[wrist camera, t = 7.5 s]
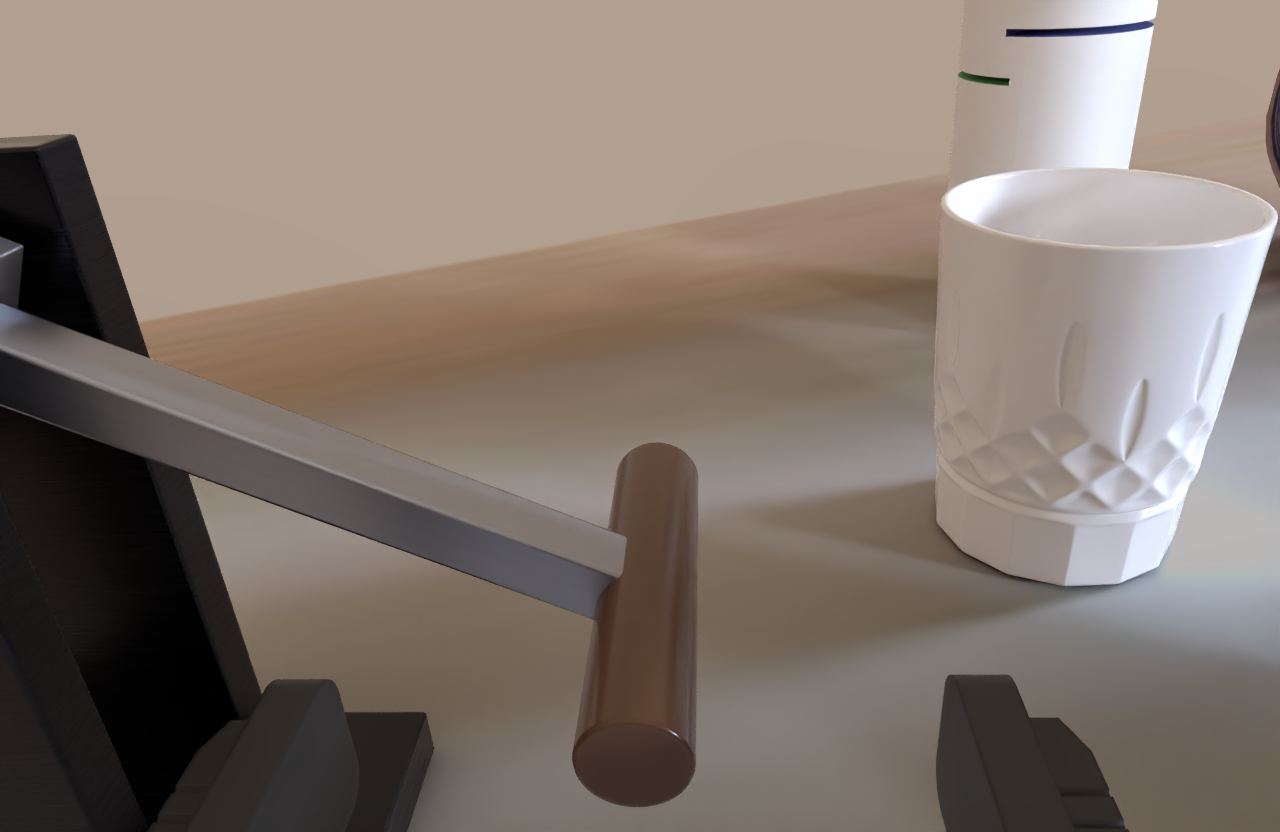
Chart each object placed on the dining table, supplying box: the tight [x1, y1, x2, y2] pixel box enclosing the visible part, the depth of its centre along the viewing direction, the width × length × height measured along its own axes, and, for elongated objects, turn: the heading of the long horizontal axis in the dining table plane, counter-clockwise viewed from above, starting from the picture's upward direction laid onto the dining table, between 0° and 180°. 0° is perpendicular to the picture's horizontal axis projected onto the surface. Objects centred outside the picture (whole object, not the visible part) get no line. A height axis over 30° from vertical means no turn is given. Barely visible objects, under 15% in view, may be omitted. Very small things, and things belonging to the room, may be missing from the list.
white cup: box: [933, 167, 1278, 586], centre depth 27 cm, size 8×8×10 cm
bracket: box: [0, 134, 434, 832], centre depth 16 cm, size 10×8×15 cm
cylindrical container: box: [948, 0, 1158, 191], centre depth 38 cm, size 7×7×25 cm
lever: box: [0, 237, 698, 807], centre depth 14 cm, size 14×7×2 cm, turn 86°
